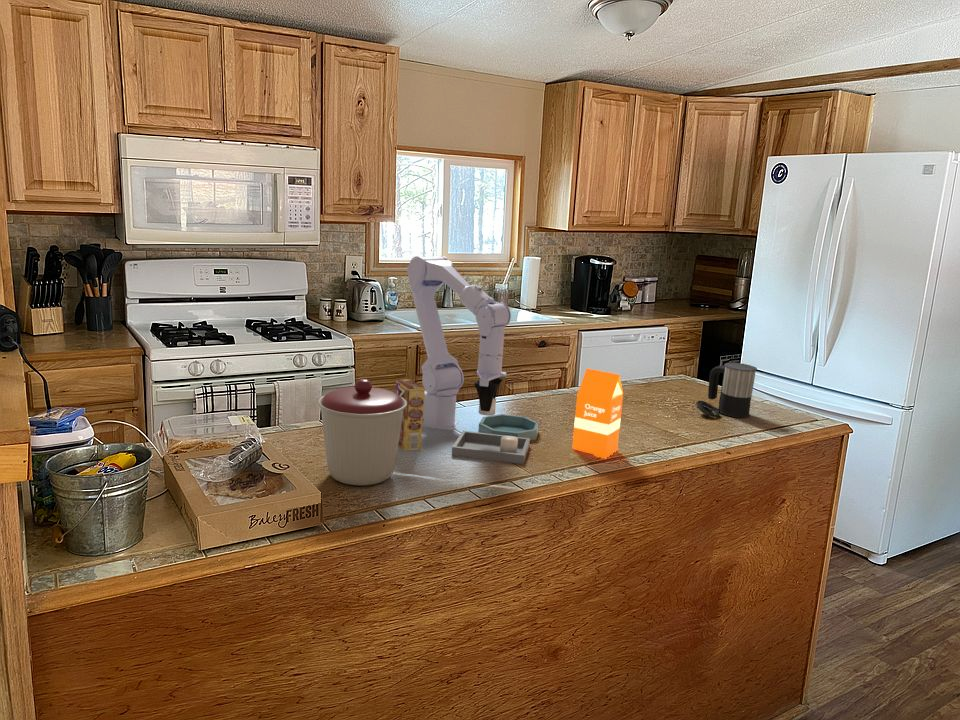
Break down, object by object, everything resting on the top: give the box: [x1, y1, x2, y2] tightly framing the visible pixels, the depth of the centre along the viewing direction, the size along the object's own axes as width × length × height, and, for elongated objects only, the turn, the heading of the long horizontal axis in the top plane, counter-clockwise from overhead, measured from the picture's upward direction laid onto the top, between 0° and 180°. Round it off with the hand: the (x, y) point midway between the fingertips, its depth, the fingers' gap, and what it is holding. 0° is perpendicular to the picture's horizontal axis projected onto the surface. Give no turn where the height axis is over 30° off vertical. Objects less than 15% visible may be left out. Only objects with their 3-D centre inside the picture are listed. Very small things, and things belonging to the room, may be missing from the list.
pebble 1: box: [478, 398, 497, 416], centre depth 178 cm, size 4×4×4 cm
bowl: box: [477, 413, 540, 442], centre depth 187 cm, size 15×15×3 cm
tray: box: [451, 430, 531, 465], centre depth 173 cm, size 17×13×2 cm
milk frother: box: [695, 362, 758, 418], centre depth 217 cm, size 14×16×15 cm
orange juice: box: [571, 368, 624, 460], centre depth 177 cm, size 8×9×20 cm
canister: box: [317, 378, 407, 486], centre depth 152 cm, size 18×18×21 cm
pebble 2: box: [500, 436, 518, 453], centre depth 172 cm, size 4×4×4 cm
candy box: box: [395, 378, 426, 451], centre depth 173 cm, size 9×4×15 cm, turn 26°
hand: (487, 408), depth 178 cm, fingers closed on pebble 1, 4 cm apart
